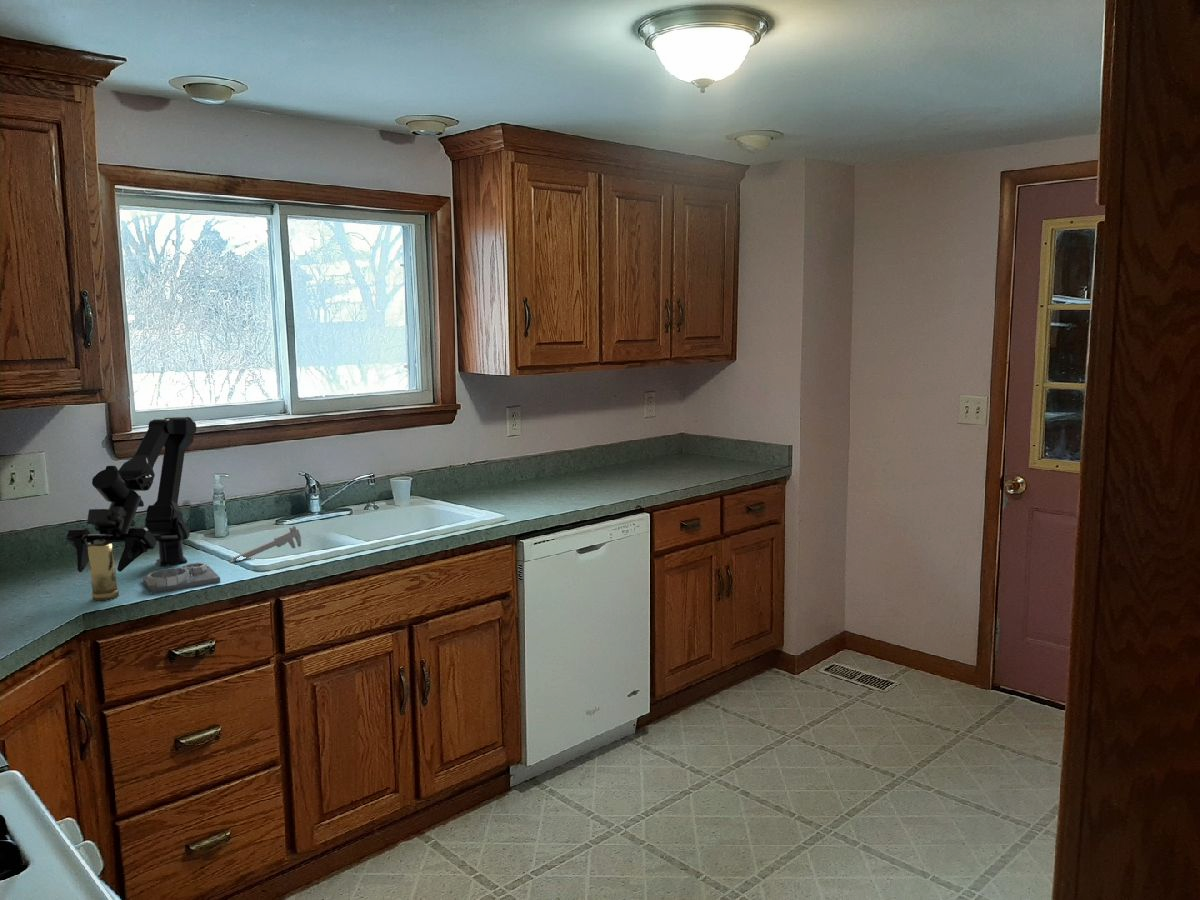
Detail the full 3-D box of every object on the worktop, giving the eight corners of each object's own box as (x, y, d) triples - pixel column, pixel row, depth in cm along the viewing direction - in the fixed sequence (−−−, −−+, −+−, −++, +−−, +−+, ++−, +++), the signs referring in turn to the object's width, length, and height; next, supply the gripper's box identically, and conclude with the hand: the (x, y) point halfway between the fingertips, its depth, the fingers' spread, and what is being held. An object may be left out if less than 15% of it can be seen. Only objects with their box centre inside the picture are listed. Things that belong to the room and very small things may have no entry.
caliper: (299, 546, 253) (297, 524, 252) (301, 547, 252) (299, 525, 251) (229, 563, 238) (227, 540, 237) (231, 564, 237) (229, 540, 236)
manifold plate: (143, 581, 222) (141, 568, 222) (208, 570, 230) (207, 558, 230) (151, 594, 211) (150, 580, 211) (220, 582, 220) (219, 569, 219)
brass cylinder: (91, 597, 210) (84, 540, 208) (117, 592, 213) (111, 536, 211) (93, 603, 206) (87, 544, 204) (120, 598, 209) (114, 540, 207)
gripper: (65, 494, 211) (39, 553, 201) (144, 493, 210) (122, 552, 200) (89, 520, 220) (66, 578, 210) (165, 519, 219) (145, 577, 209)
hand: (99, 571), depth 207 cm, fingers open, 9 cm apart
